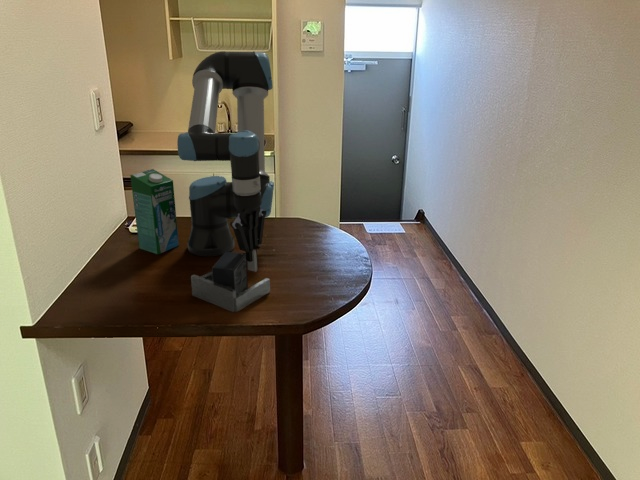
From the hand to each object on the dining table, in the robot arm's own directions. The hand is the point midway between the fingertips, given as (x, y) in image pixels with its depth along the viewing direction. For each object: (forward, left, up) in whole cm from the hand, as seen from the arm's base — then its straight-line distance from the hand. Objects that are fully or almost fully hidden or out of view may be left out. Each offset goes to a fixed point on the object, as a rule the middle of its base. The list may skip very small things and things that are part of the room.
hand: (252, 270), depth 151 cm
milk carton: (-42, +1, -4) cm, 42 cm away
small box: (-1, -9, -4) cm, 10 cm away
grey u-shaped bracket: (-1, -8, -4) cm, 9 cm away
